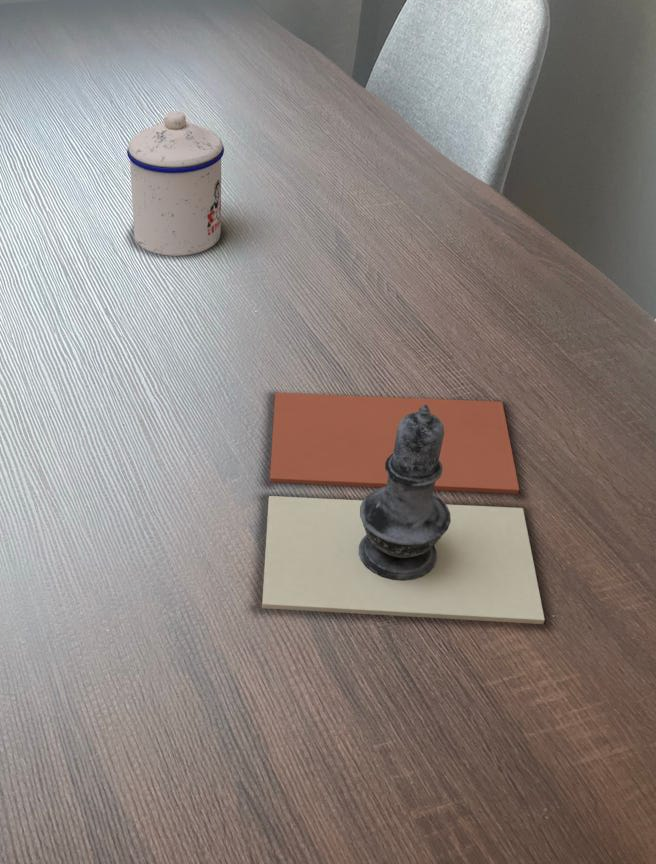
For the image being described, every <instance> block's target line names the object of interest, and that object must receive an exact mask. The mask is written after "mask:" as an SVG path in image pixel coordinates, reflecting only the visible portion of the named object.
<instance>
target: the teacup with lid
mask: <svg viewBox="0 0 656 864" xmlns="http://www.w3.org/2000/svg"><path fill="white" fill-rule="evenodd" d="M126 155H127V159H128V160H129V165H130V166H129V167H130V184H131V185H130V186H131V201H132V221H133V223H132V224H133V236H134V237H133V238H134V240H135V242H136V243H137V244H138V245H139V246H140V247H141V248H142V249H144V250H145V251H148V252H150V253H153V254H157V255H161V256H170V257H175V256H176V257H180V256H181V257H182V256H183V257H184V256H191V255H195V254H199V253H202V252H204V251H207V250H209V249H211V248H212V247H213V246H215V245H216V244H217V242H219V239H220V238H221V234H222V228H221V227H222V226H221V225H222V215H221V214H222V159H223V156H224V155H225V147H224V144H223V141H222V139H221V137H220V136H219V135H218V134H217V133H215V131H213V130H211V129H210V128H207V127H204V126H201V125H196V124H194V123H192V122H190V121H187V118H186V114H184V112H182V111H177V110H171V111H168V112H166V113H165V115H164V117H163V122H160V123H158V124H155V125H154V126H151V127H148V128H145V129H143V130H141V131H139V132H138V133H136V134H135V135H133V136H132V138H131V139H130V140H129V143H128V146H127V149H126Z"/></svg>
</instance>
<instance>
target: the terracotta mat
mask: <svg viewBox="0 0 656 864" xmlns="http://www.w3.org/2000/svg"><path fill="white" fill-rule="evenodd" d="M424 405H427V406H428V408H429V409H430V414H433V415H435V416H436V417H438V418H439V419H440V421H441V422H442V424H443V426H444V437H443V442H442V446H441V451H440V456H439V461H440V462H441V464H442V466H443V472H442V475H441V477H440V478H439V479H438V480H437V481H435V486H434V490H433V491H443V492H444V491H447V492H469V493H487V494H488V493H489V494H510V495H518V494H519V493H520V485H519V481H518V480H519V479H518V475H517V469H516V465H515V460H514V454H513V450H512V445H511V439H510V434H509V429H508V422H507V418H506V413H505V408H504V403H503V401H496V400H472V399H446V398H445V399H443V398H421V397H395V396H393V397H392V396H369V395H345V394H343V395H342V394H319V393H293V392H290V393H289V392H275V393H274V405H273V406H274V407H273V423H272V439H271V454H270V455H271V456H270V469H269V470H270V471H269V472H270V473H269V483H272V484H273V483H275V484H294V485H295V484H299V485H316V486H317V485H319V486H321V485H322V486H337V487H338V486H339V487H361V488H382V487H386V486H387V480H388V474H387V472H386V469H385V462H386V460H387V458H388V457H389V456H390V455H391V454H393V452H394V446H395V440H396V434H397V428H398V426H399V423H400V421H401V420H402V419H403V418H404V417H405V416H407V415H409V414H410V413H414V412H419V408H421V407H422V406H424Z"/></svg>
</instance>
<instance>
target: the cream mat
mask: <svg viewBox="0 0 656 864" xmlns="http://www.w3.org/2000/svg"><path fill="white" fill-rule="evenodd" d="M362 502H363V500H361V499H340V498H322V497H303V496H301V497H300V496H299V497H297V496H276V495H269V496H268V501H267V503H268V504H267V520H266V536H265V553H264V567H263V568H264V570H263V587H262V601H261V608H262V609H271V610H287V611H302V612H303V611H304V612H305V611H307V612H324V613H342V614H357V615H358V614H359V615H375V616H376V615H377V616H391V617H392V616H394V617H411V618H427V619H429V618H430V619H445V620H446V619H447V620H461V621H479V622H481V621H483V622H498V623H517V624H532V625H533V624H534V625H544V623H545V621H546V619H545V614H544V609H543V604H542V599H541V593H540V589H539V583H538V579H537V572H536V567H535V562H534V557H533V553H532V548H531V542H530V536H529V532H528V531H529V530H528V525H527V522H526V517H525V511H524V508H523V507H512V506H511V507H508V506H488V505H470V504H469V505H468V504H465V505H464V504H448V503H447V504H446V503H445V504H446V505H447V507H448V510H449V512H450V518H451V522H450V524H449V527H448V530H447V531H446V532H445V533H444V534H443V535H442V536H441V538H440V539H439V540H438V541H437V542H436V544H435V545H434V546H435V549H436V551H437V561H436V564H435V566H434V568H433V569H432V570H431V571H430V572H429V573H427V574H426V575H424V576H423V577H420V578H417V579H413V580H405V581H401V580H391V579H388V578H384V577H381V576H379V575H377V574H375V573H373V572H372V571H370V570H369V569H368V568H366V567H365V565H364V564H363V563H362V561H361V559H360V557H359V544H360V542H361V540H362V539H363V537H364V536H365V535H366V531H365V528H364V526H363V523H362V520H361V517H360V506H361V504H362Z"/></svg>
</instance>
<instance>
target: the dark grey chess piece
mask: <svg viewBox="0 0 656 864" xmlns="http://www.w3.org/2000/svg"><path fill="white" fill-rule="evenodd" d="M443 437H444V426H443V424H442V422H441V421H440V419H439V418H438V417H436V416H435V415H433V414H430V409H429V408H428V406H427V405H424V406H422V407H421V408H419V412H414V413H410V414H409V415H407V416H405V417H404V418H403V419H402V420H401V421H400V423H399V426H398V428H397V434H396V440H395V446H394V452H393V454H391V455H390V456H389V457H388V458H387V460H386V462H385V469H386V472H387V474H388V480H387V486H386V487H382V488H380V487H378V488H377V489H375V490H373V491H371V492H370V493H368V494H367V495H366V496H365V497H364V498H363V502H362V504H361V506H360V517H361V520H362V523H363V526H364V528H365V531H366V535H365V536H364V537H363V539H362V540H361V542H360V544H359V557H360V559H361V561H362V563H363V564H364V565H365V567H366V568H368V569H369V570H370V571H372V572H373V573H375V574H377V575H379V576H381V577H384V578H388V579H391V580H401V581H405V580H413V579H417V578H420V577H423V576H424V575H426V574H427V573H429V572H430V571H431V570H432V569H433V568H434V566H435V564H436V561H437V551H436V549H435V546H434V545H435V544H436V542H437V541H438V540H439V539H440V538H441V536H442V535H443V534H444V533H445V532H446V531H447V530H448V527H449V524H450V522H451V518H450V512H449V510H448V507H447V505H446V503H445V502H444V501H443V500H442V499H441V498H440V496H437V495H436V494H434V491H435V490H434V486H435V481H437V480H438V479H439V478H440V477H441V475H442V472H443V466H442V464H441V462H440V461H439V456H440V451H441V446H442V442H443Z"/></svg>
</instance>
